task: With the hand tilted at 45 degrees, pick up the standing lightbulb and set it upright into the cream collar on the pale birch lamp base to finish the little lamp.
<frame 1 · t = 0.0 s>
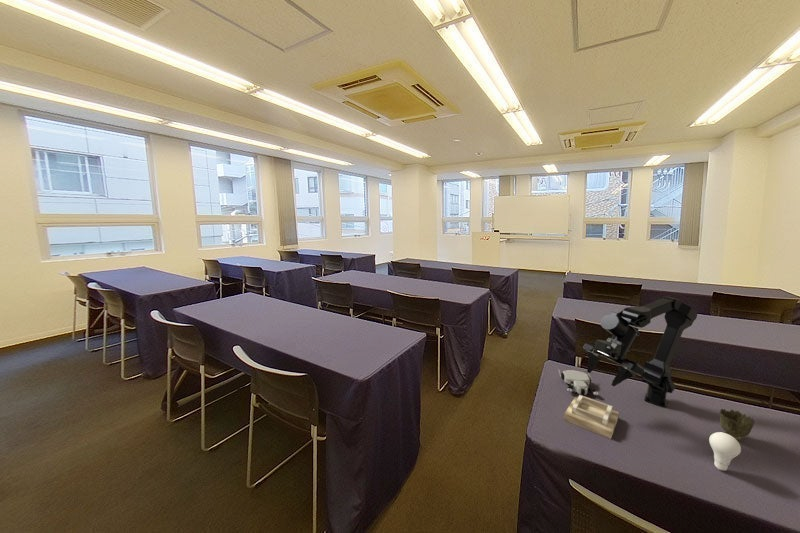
hand: (599, 379, 107), 15 cm above the table, tool tilted 35°, fingers open, 9 cm apart
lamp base: (591, 419, 108), on the table
robot toy: (577, 388, 129), on the table
lightbulb: (720, 469, 87), on the table
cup: (732, 438, 99), on the table
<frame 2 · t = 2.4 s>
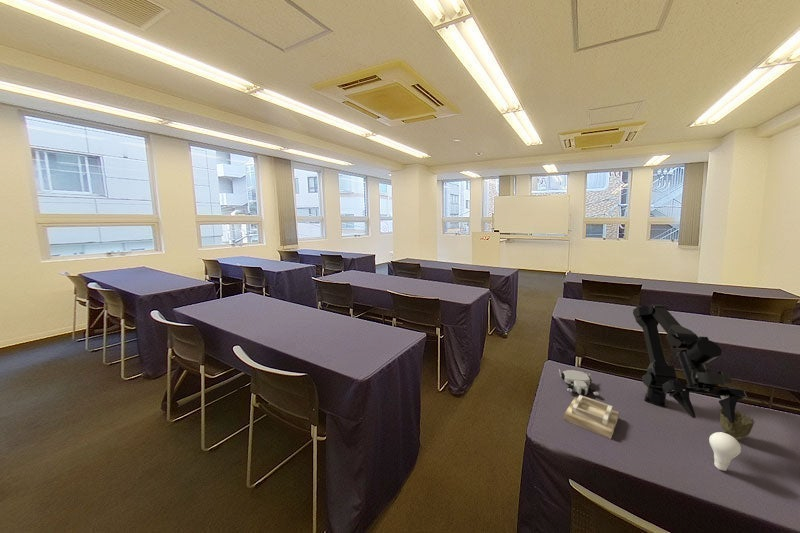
hand: (713, 420, 90), 12 cm above the table, tool tilted 45°, fingers open, 9 cm apart
nothing on the table moved.
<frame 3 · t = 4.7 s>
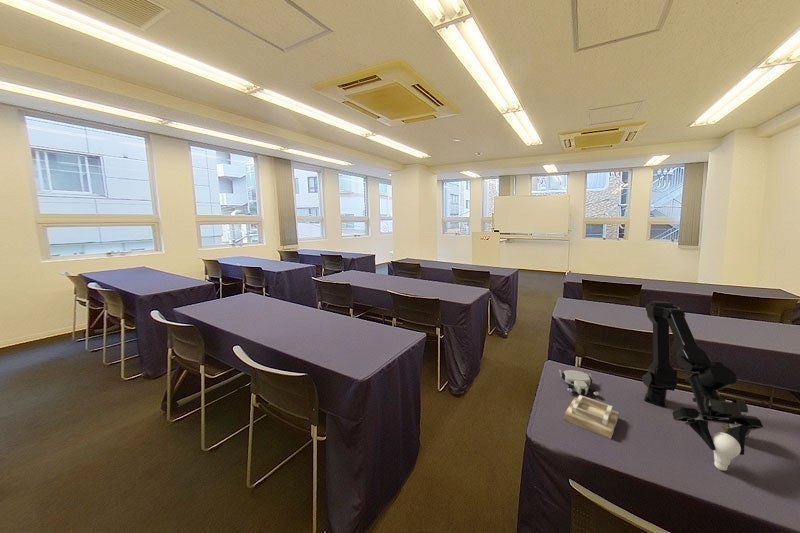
hand: (727, 452, 84), 7 cm above the table, tool tilted 45°, fingers closed on lightbulb, 6 cm apart
lightbulb: (720, 469, 87), on the table, touching gripper
everything else where it was.
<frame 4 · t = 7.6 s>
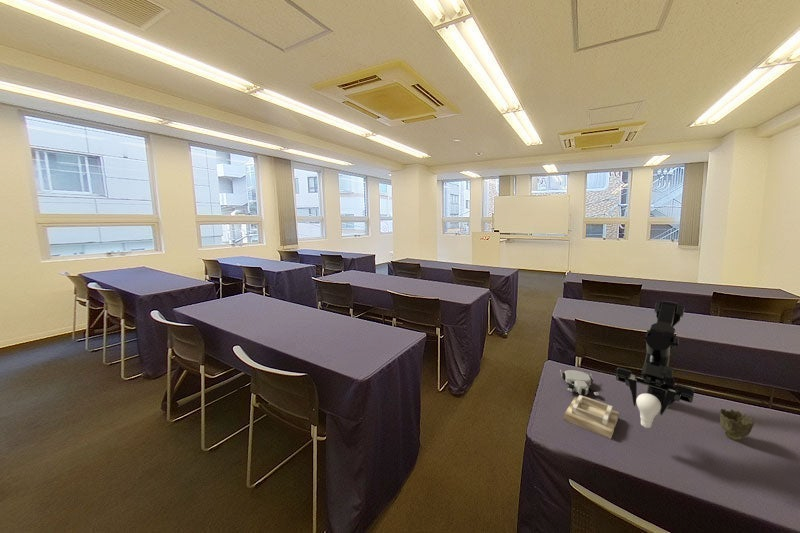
hand: (647, 410, 92), 13 cm above the table, tool tilted 45°, fingers closed on lightbulb, 6 cm apart
lightbulb: (645, 427, 94), point 6 cm above the table, touching gripper
everything else where it was.
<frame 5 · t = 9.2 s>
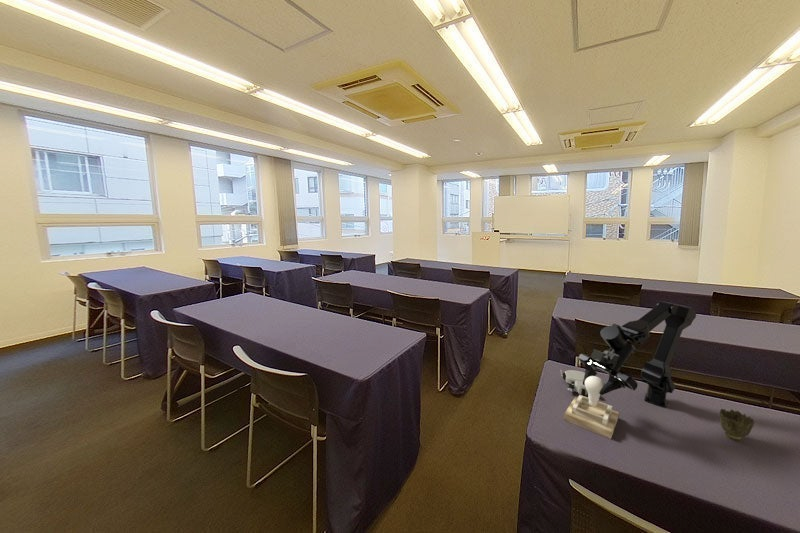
hand: (591, 389, 106), 12 cm above the table, tool tilted 45°, fingers closed on lightbulb, 6 cm apart
lightbulb: (592, 406, 108), point 5 cm above the table, touching gripper
everything else where it was.
when the fingers open (10 cm above the table, at t = 10.3 s): lightbulb drops 1 cm, resting on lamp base.
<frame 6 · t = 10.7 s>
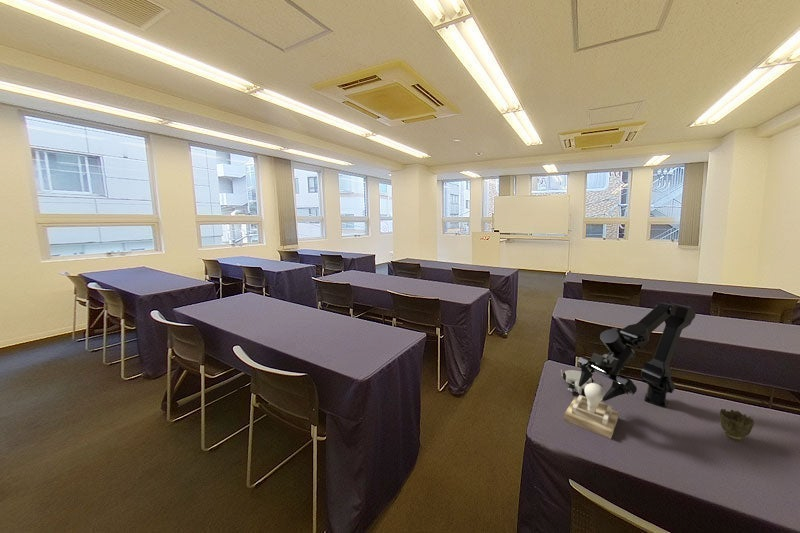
hand: (590, 392, 106), 11 cm above the table, tool tilted 45°, fingers open, 9 cm apart
lightbulb: (591, 412, 108), point 2 cm above the table, touching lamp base
everything else where it was.
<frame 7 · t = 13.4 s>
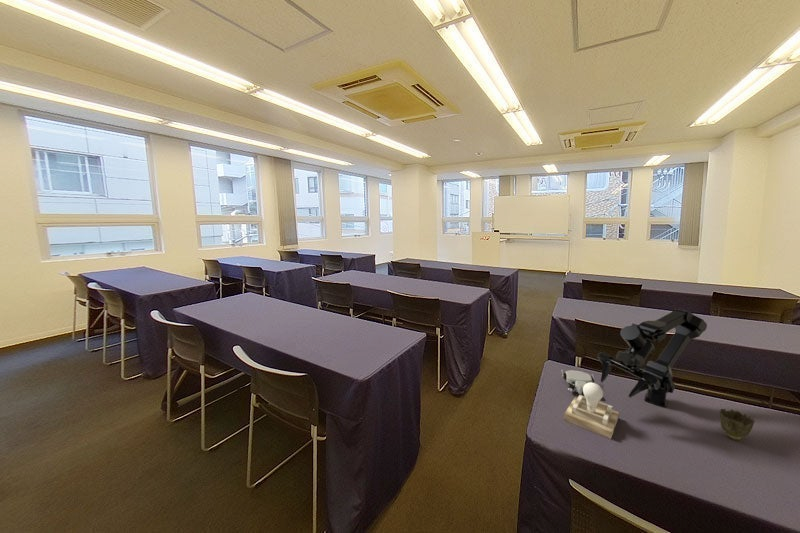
hand: (614, 389, 108), 11 cm above the table, tool tilted 40°, fingers open, 9 cm apart
nothing on the table moved.
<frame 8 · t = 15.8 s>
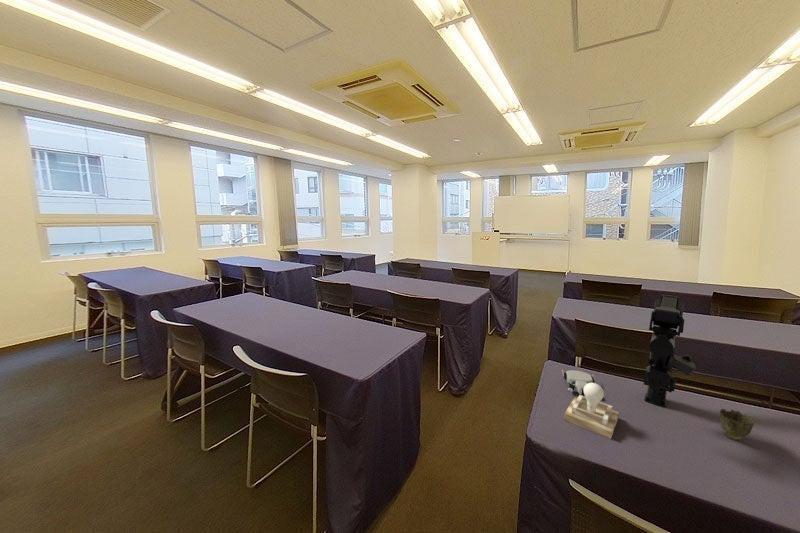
hand: (656, 389, 104), 13 cm above the table, tool pointing down, fingers open, 9 cm apart
nothing on the table moved.
at the end: lightbulb 0.4 cm off-centre on the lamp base, point 2.3 cm above the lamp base's base; lightbulb tilted 1°; the gripper is holding nothing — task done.
